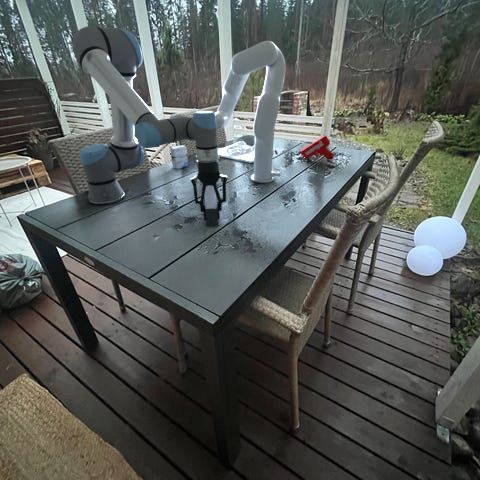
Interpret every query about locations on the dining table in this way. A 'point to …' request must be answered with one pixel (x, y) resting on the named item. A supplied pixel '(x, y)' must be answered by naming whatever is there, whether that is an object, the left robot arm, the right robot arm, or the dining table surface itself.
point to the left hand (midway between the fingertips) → (211, 218)
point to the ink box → (179, 156)
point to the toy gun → (318, 149)
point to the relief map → (238, 152)
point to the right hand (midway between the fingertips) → (208, 172)
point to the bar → (211, 206)
